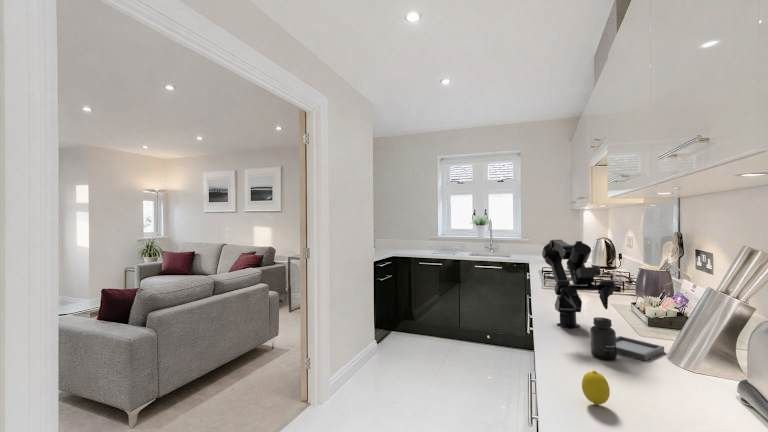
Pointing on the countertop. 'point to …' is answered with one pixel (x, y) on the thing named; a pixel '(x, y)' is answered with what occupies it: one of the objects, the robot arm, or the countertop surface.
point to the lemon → (595, 388)
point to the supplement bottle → (603, 339)
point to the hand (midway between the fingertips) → (591, 308)
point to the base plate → (637, 348)
